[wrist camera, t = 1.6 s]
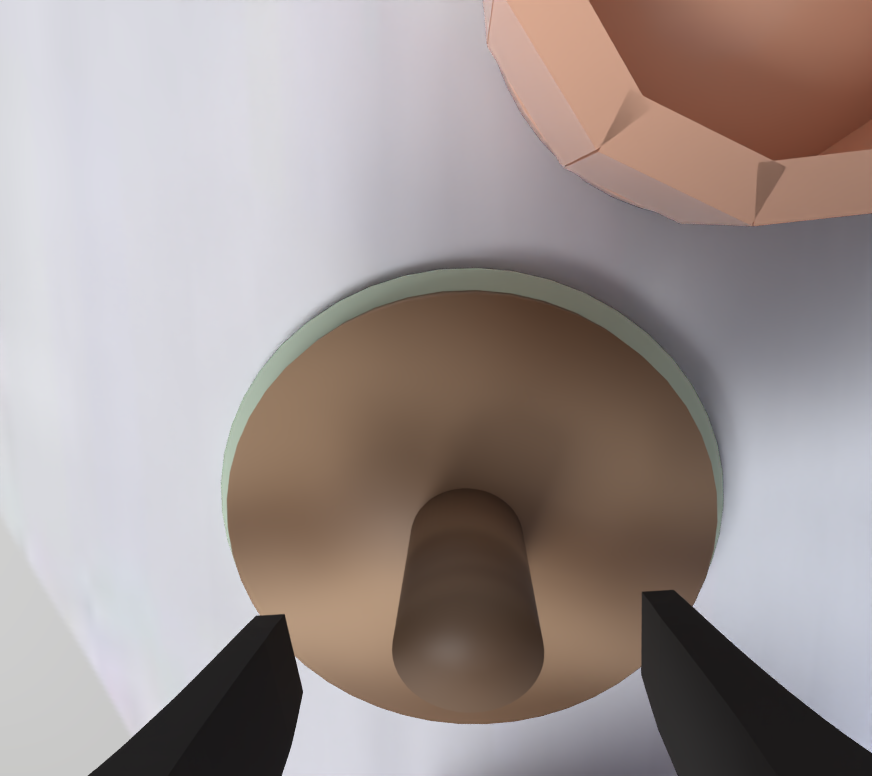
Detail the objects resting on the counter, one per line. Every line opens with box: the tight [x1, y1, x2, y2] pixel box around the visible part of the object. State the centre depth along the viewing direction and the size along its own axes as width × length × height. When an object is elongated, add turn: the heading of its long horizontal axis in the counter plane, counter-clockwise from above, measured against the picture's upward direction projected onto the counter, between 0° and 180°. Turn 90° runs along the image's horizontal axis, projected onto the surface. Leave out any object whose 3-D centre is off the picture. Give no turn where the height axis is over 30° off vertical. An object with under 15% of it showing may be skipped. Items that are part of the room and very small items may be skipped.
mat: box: [221, 268, 723, 567], centre depth 15 cm, size 14×14×1 cm
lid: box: [227, 290, 718, 724], centre depth 13 cm, size 13×13×5 cm
